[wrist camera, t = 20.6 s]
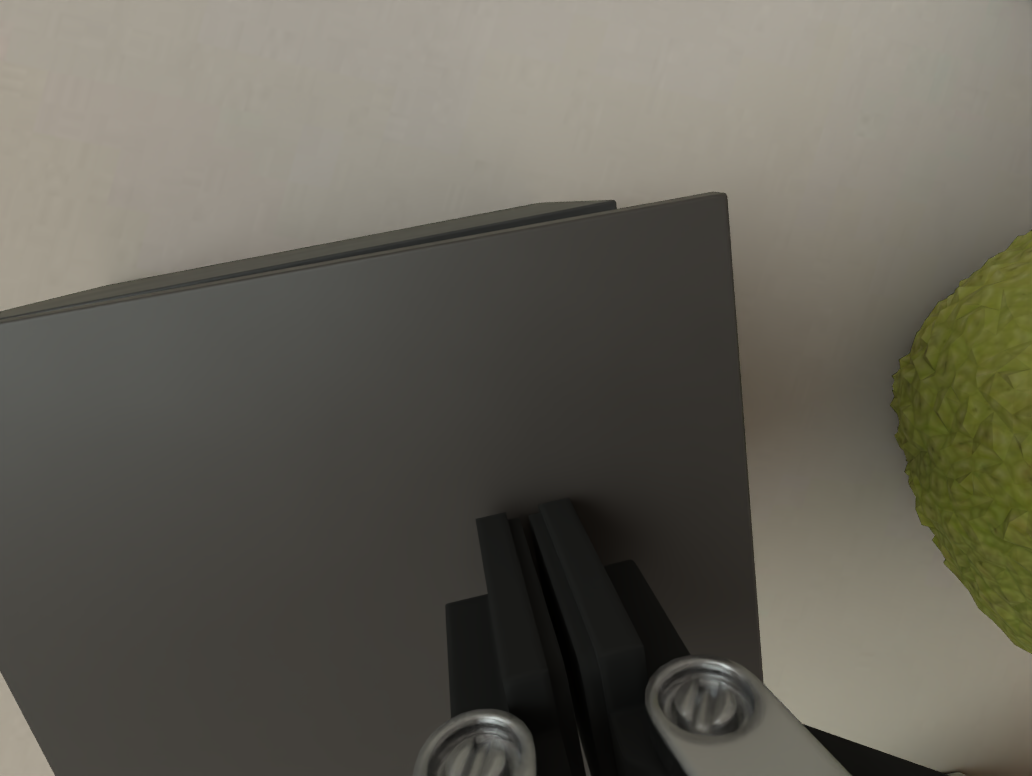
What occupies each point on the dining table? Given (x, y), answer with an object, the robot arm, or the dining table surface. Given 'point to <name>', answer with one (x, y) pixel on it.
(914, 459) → the fruit
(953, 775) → the bowl
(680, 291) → the lid
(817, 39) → the dining table surface
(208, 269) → the chest
